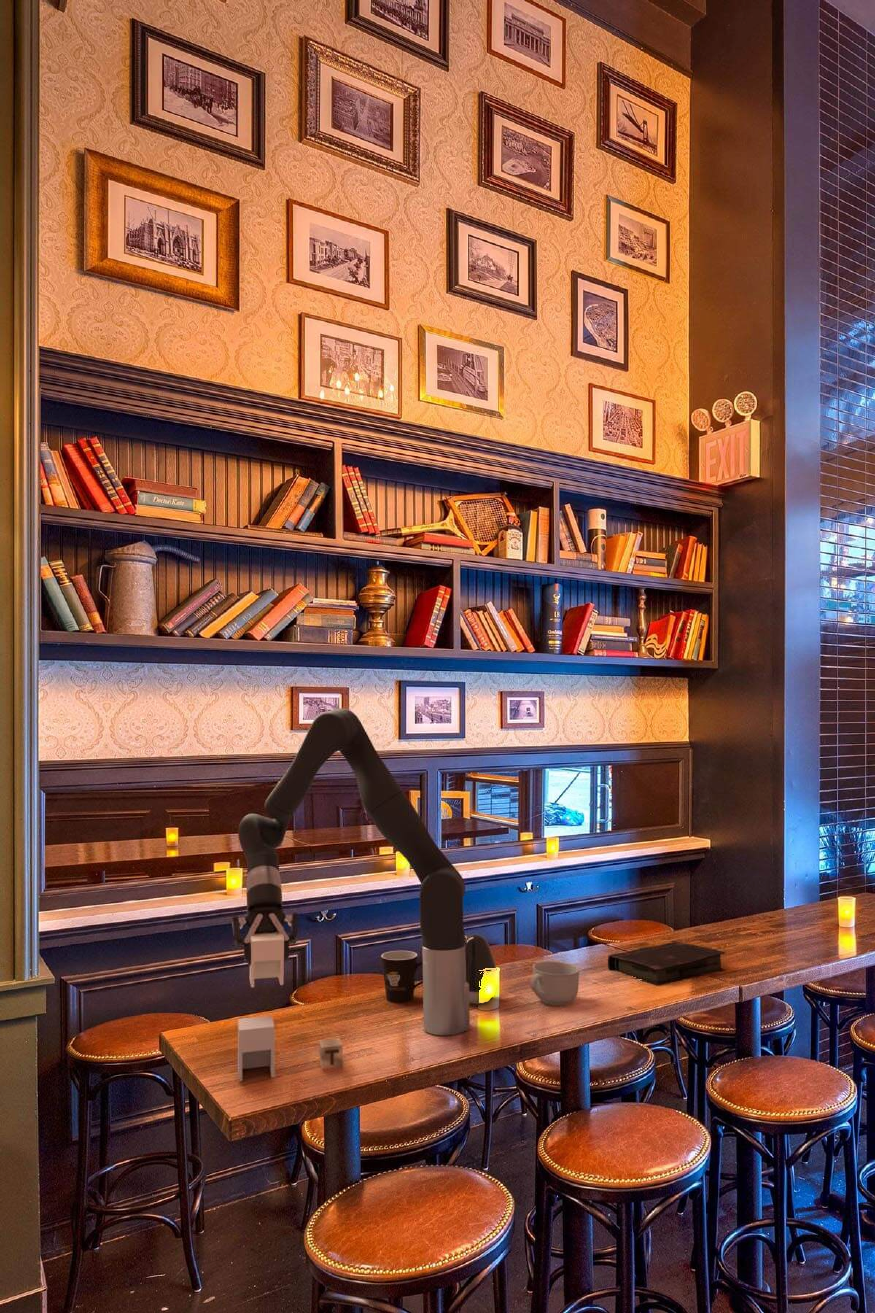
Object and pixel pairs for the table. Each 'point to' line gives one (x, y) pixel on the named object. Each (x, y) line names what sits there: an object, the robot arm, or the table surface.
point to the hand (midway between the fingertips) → (267, 961)
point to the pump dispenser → (476, 963)
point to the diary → (667, 962)
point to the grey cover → (256, 1044)
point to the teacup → (555, 982)
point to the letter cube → (330, 1053)
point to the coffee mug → (400, 975)
